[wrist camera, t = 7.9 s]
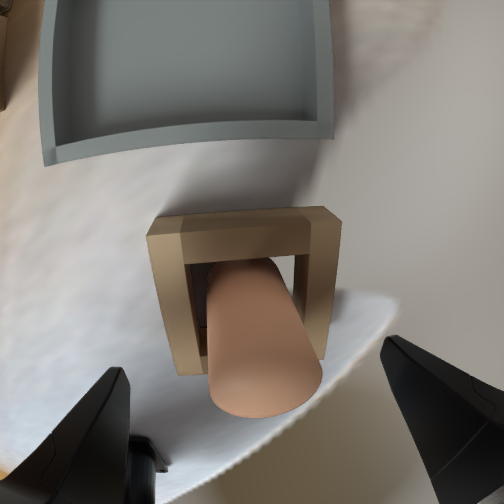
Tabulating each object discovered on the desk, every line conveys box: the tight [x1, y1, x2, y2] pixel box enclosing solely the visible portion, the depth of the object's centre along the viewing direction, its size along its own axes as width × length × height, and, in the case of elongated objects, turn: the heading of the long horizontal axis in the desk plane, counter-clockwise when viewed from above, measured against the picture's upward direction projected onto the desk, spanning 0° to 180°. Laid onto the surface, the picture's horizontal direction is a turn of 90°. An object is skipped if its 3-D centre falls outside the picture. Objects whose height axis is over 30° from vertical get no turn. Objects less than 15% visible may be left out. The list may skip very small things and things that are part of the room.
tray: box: [38, 0, 334, 167], centre depth 8 cm, size 8×10×2 cm
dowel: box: [207, 257, 322, 418], centre depth 11 cm, size 3×3×6 cm
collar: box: [146, 206, 342, 376], centre depth 13 cm, size 7×7×2 cm
